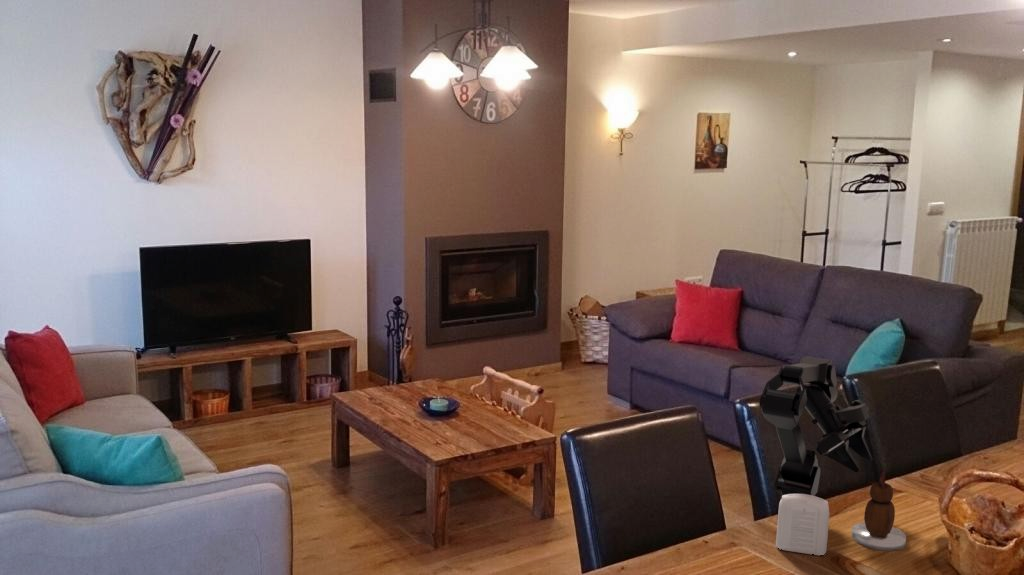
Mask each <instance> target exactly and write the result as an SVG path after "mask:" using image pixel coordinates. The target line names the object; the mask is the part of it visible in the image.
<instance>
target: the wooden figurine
mask: <svg viewBox="0 0 1024 575" xmlns="http://www.w3.org/2000/svg"><path fill="white" fill-rule="evenodd" d="M869 495H870V496H869V497H870V499H869V501H867V503H866V505H865V508H864V510H865V511H864V515H863V516H864V517H863V520H864V522H865V525H866V528H867V530H868V531H869V532H870V533H871V534H873V535H876V536H885V535H887V534H889V533H890V531H891V529H892V527H894V523H895V518H896V517H895V516H896V510H895V505H894V503H893V497H894V489H893V487H892V485H891V484H890V483H887V482H886V470H885V469H883V470H882V473H881V474H880V477H879V481H878V482H877V481H876V482H873V483H872V484H871V487H870V490H869Z"/></svg>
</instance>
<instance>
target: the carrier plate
mask: <svg viewBox="0 0 1024 575" xmlns="http://www.w3.org/2000/svg"><path fill="white" fill-rule="evenodd" d="M851 538H852V540H854V542H856V543H857V544H859V545H861V546H863V547H865V548H868V549H872V550H875V551H883V552H894V551H900V550H902V549H904V548H905V547H906V545H907V535H906V533H905V532H904V531H902V530H900V529H899V528H897V527H894V526H892V529H891V531H890V533H889V534H887V535H885V536H876V535H873V534H871V533H870V532H869V531H868V530H867V528H866V525H865V521H864V522H859V523H856V524H854V525H853V526H852V528H851Z"/></svg>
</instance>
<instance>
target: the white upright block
mask: <svg viewBox="0 0 1024 575" xmlns="http://www.w3.org/2000/svg"><path fill="white" fill-rule="evenodd" d="M829 522H830V507H829V502H828V500H826V499H824V498H821V497H818V496H816V495H814V496H812V495H807V494H787V495H782V499H781V498H780V501H779V502H778V513H777V524H776V525H777V526H776V538H775V540H776V541H775V547H776V548H777V549H778V548H779V549H778V550H781V549H782V550H783V551H787V552H793V553H801V554H806V555H812V554H814V556H820V555H824V554H825V553H827V548H828V546H827V545H828V536H829V526H830V525H829V524H830V523H829ZM782 550H781V551H782ZM825 555H826V554H825ZM825 555H824V556H825Z"/></svg>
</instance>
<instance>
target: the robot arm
mask: <svg viewBox="0 0 1024 575" xmlns="http://www.w3.org/2000/svg"><path fill="white" fill-rule="evenodd" d="M806 383H807V384H809V385H806ZM784 384H789V385H796V386H798V387H796V388H795V390H796V391H795V392H796V393H795V392H789V391H786V390H785V391H784V390H779V389H780V388H781V387H783V385H784ZM837 386H838V381H837V372H836V366H835V365H834V363H833V360H831V359H828V358H827V359H826V358H821V357H820V358H819V357H813V356H804V357H802V358H801V359H800V361H799V362H798V363H795V364H794V363H793V364H785V365H783V364H782V365H781V367H780V369H779V371H778V373H777V374H776V375H775V376H773V377H771V379H769V380H768V381H766V383H765V386H764V387H763V390H762V393H761V396H760V399H759V408H760V410H761V414H763V417H764V419H765V420H766V421H767V422H769V423H770V424H771V425H773V426H775V429H776V433H777V436H778V439H779V442H780V447H781V449H782V452H783V459H782V460H781V462H780V464H778V468H777V472H776V475H775V476H776V477H775V481H774V490H775V491H778V492H780V493H781V494H780V500H781V499H782V495H787V494H807V495H812V496H816V494H817V493H818V490H819V485H820V484H819V483H820V478H821V467H819V463H818V462H819V460H818V458H817V452H818V454H819V455H820V456H822V455H824V457H827V458H830V459H831V460H833V461H836V462H837V463H838V464H840V465H842V466H844V467H846V468H848V469H849V470H851V471H852V472H853V473H858V472H860V471H861V469H860V467H859V465H858V463H857V461H856V460H855V458H854V457H853V455H852V453H851V451H853V452H855V453H856V455H858V456H859V457H861V459H864V460H865V461H866V462H868V463H870V462H871V461H873V457H872V455H871V452H870V450H869V447H868V444H867V442H866V439H865V433H866V429H867V427H866V424H867V422H866V421H867V419H869V418H870V414H869V411H868V410H869V409H870V407H869V406H868V405H867V403H865V402H863V401H862V400H861V399H857V400H854V401H852V402H851V406H848V407H844V408H843V407H842V406H841V405H840V404H834V402H835V401H836V400H837V398H838V394H839V392H838V389H837ZM805 409H806V412H808V414H809V415H810V416H811V418H813V420H811V423H812V424H813V425H816V424H817V425H818V427H819V428H820V430H821V431H822V433H823V435H822V438H821V439H819V440H818V441H817V442H815V450H816V451H817V452H816V451H815V450H811V449H806V445H805V441H804V438H803V434H802V430H801V427H800V424H799V423H800V422H799V420H800V418H801V416H802V415H803V412H804V410H805ZM850 449H851V451H850ZM785 481H787V482H785ZM790 482H791V483H790ZM794 483H796V484H794ZM797 484H799V485H797ZM802 485H803V486H802ZM806 486H807V487H806ZM808 486H809V487H808Z"/></svg>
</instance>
